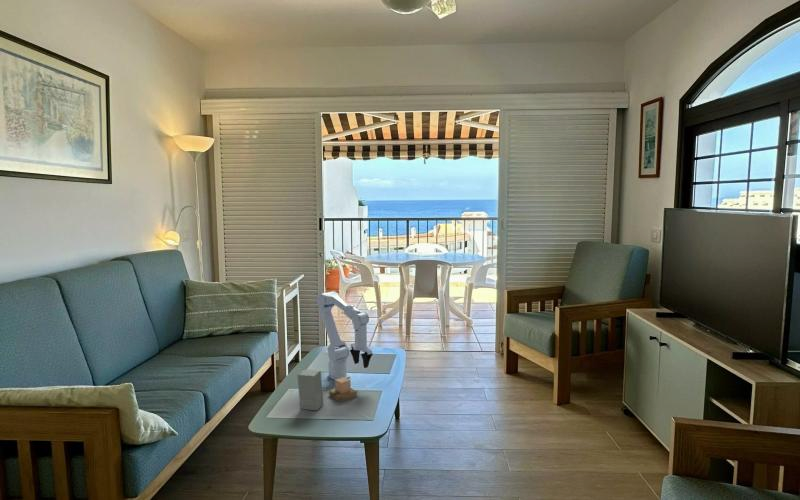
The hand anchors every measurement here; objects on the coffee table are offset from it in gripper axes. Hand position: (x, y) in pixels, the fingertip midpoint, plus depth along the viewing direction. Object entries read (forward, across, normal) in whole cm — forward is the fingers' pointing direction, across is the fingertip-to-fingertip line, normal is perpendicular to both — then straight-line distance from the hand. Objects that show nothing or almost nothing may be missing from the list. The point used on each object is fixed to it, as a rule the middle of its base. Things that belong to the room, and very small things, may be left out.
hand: (361, 365), depth 222 cm
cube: (+7, +4, -14) cm, 16 cm away
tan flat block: (+10, +4, -14) cm, 18 cm away
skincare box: (+10, +5, -31) cm, 33 cm away
